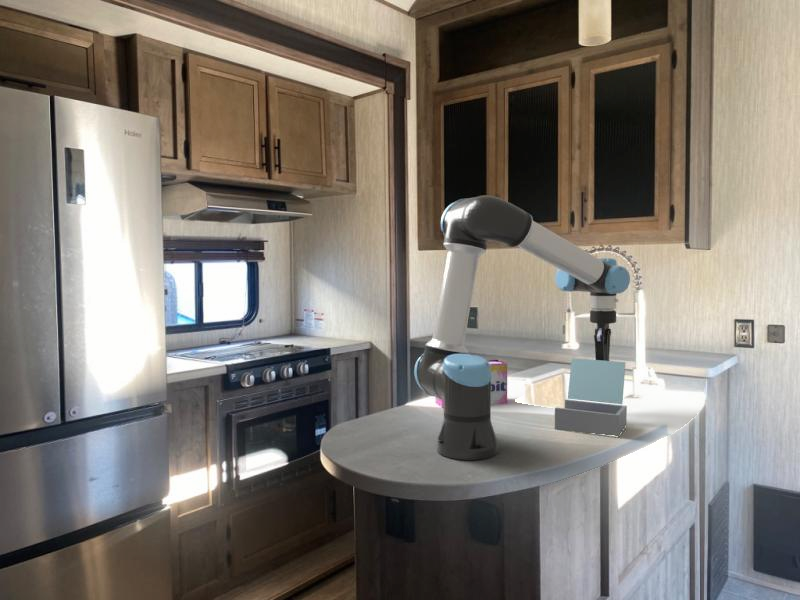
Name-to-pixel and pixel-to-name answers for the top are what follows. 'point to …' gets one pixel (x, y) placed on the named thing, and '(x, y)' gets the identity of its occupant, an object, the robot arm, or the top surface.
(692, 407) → the top surface
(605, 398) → the cover
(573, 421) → the grey open box
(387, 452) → the top surface
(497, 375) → the gum box
